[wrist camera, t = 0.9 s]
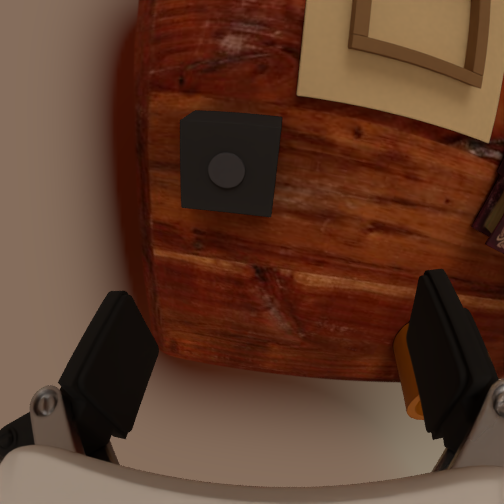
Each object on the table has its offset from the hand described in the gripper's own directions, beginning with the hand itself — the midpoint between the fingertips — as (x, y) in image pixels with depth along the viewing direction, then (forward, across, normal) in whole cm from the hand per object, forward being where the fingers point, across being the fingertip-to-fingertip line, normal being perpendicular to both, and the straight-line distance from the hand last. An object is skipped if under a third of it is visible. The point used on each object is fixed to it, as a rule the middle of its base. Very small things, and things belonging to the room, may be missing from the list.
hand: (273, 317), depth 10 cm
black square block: (+16, +4, -1) cm, 17 cm away
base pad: (+16, -11, -11) cm, 23 cm away
